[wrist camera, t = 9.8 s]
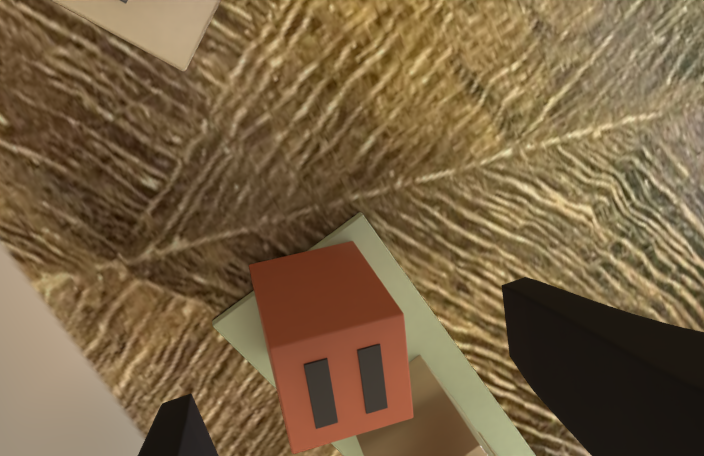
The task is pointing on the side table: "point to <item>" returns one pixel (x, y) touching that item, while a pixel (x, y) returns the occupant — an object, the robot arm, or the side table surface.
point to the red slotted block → (332, 345)
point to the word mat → (421, 337)
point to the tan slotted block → (427, 423)
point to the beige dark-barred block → (152, 24)
